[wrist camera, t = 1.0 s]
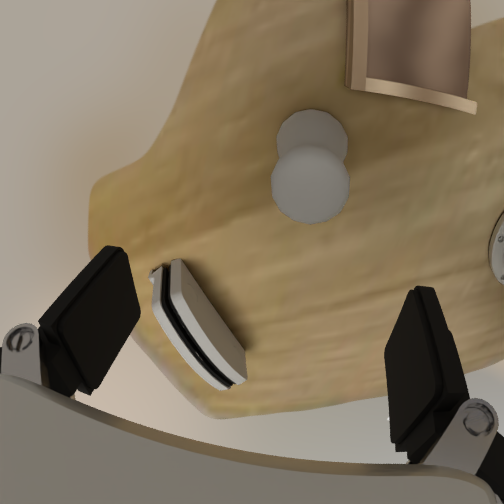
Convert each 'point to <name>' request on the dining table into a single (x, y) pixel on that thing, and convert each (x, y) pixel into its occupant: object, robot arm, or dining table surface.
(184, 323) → the white rounded block
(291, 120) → the salt shaker
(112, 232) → the dining table surface
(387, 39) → the corner tray
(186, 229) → the dining table surface
